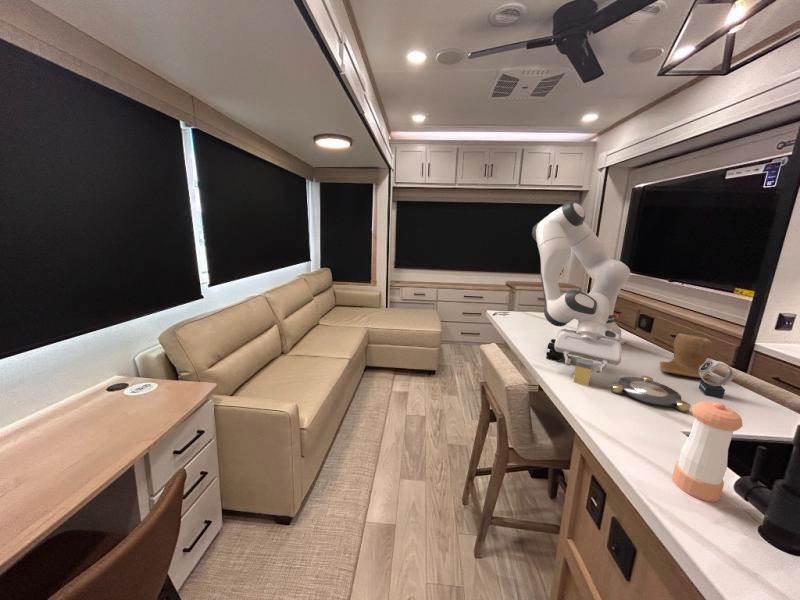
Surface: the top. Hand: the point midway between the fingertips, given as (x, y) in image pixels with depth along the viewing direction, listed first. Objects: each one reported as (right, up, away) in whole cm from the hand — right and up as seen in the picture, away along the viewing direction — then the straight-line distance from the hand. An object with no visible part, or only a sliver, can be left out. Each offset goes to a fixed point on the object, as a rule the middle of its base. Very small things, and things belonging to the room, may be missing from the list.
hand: (582, 368), depth 106 cm
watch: (+40, -8, -4) cm, 41 cm away
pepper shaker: (-2, -15, -42) cm, 45 cm away
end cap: (+2, 0, +21) cm, 21 cm away
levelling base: (+17, -7, -8) cm, 20 cm away
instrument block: (0, -5, +1) cm, 5 cm away
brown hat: (+43, -4, +10) cm, 45 cm away
